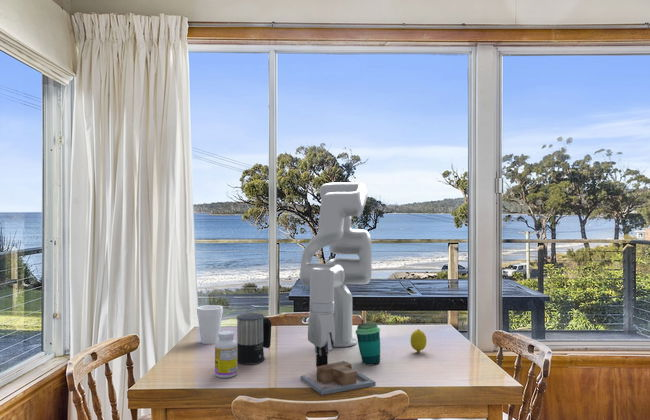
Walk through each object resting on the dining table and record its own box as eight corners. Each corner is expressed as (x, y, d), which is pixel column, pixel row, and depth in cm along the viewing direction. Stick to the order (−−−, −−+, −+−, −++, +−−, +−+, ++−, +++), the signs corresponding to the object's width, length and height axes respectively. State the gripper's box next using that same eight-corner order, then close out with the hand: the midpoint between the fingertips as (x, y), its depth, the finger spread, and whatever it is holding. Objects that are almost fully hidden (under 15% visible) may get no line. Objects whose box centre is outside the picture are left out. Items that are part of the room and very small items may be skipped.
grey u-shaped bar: (300, 379, 147) (300, 375, 147) (350, 370, 155) (350, 367, 155) (321, 395, 134) (321, 391, 134) (375, 385, 142) (375, 381, 142)
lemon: (426, 354, 172) (426, 331, 172) (410, 353, 173) (410, 330, 173) (426, 350, 178) (426, 327, 178) (410, 349, 179) (410, 327, 179)
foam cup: (224, 343, 186) (224, 308, 186) (198, 346, 182) (198, 310, 182) (220, 337, 195) (220, 304, 195) (196, 339, 191) (196, 305, 191)
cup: (373, 367, 158) (373, 329, 158) (350, 363, 162) (351, 326, 162) (384, 361, 165) (384, 324, 165) (362, 357, 169) (362, 321, 169)
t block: (316, 380, 146) (316, 366, 146) (343, 374, 152) (343, 360, 152) (337, 390, 138) (337, 375, 138) (365, 382, 144) (364, 368, 144)
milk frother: (256, 366, 159) (256, 319, 159) (212, 361, 164) (213, 316, 164) (274, 354, 173) (274, 311, 173) (233, 350, 178) (233, 308, 178)
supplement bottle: (216, 371, 154) (216, 329, 154) (238, 371, 154) (238, 329, 154) (213, 379, 147) (213, 335, 147) (236, 378, 147) (236, 334, 148)
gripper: (300, 304, 159) (300, 362, 159) (322, 313, 145) (322, 376, 145) (321, 302, 162) (321, 358, 162) (344, 310, 149) (344, 372, 149)
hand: (321, 366), depth 154 cm, fingers closed
